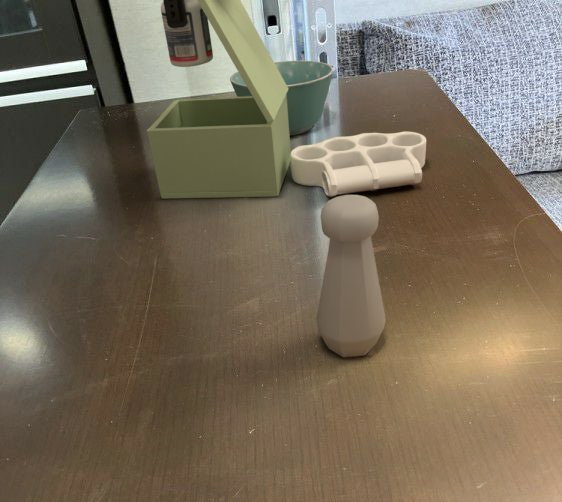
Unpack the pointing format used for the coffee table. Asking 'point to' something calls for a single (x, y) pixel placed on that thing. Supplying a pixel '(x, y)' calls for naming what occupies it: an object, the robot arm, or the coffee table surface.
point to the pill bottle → (189, 37)
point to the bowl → (298, 91)
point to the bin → (219, 149)
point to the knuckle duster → (360, 162)
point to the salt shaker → (350, 278)
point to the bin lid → (247, 53)
